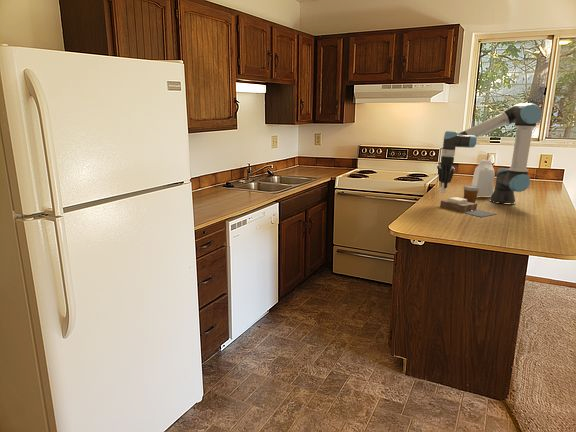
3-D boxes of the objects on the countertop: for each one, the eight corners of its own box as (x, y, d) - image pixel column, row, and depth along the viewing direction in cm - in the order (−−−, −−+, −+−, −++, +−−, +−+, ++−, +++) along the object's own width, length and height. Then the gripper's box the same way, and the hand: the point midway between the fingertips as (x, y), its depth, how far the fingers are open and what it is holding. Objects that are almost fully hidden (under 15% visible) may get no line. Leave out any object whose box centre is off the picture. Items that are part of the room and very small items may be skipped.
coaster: (455, 200, 273) (456, 197, 272) (466, 202, 266) (467, 199, 266) (447, 201, 268) (448, 198, 268) (458, 203, 262) (459, 200, 261)
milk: (486, 194, 314) (491, 159, 308) (492, 198, 303) (497, 161, 296) (469, 194, 315) (474, 158, 309) (474, 197, 304) (479, 160, 298)
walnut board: (454, 204, 278) (454, 198, 277) (476, 210, 265) (477, 203, 264) (440, 206, 270) (440, 200, 269) (462, 212, 257) (462, 205, 256)
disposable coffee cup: (463, 202, 286) (465, 184, 283) (478, 204, 281) (480, 186, 278) (459, 204, 278) (462, 186, 275) (475, 206, 273) (477, 188, 270)
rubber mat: (478, 210, 264) (478, 209, 264) (496, 214, 254) (496, 213, 254) (463, 212, 256) (463, 212, 256) (481, 217, 246) (481, 216, 246)
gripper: (435, 155, 273) (430, 191, 278) (452, 157, 262) (447, 195, 268) (443, 154, 277) (438, 190, 282) (460, 157, 266) (455, 194, 272)
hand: (442, 192), depth 275 cm, fingers closed
